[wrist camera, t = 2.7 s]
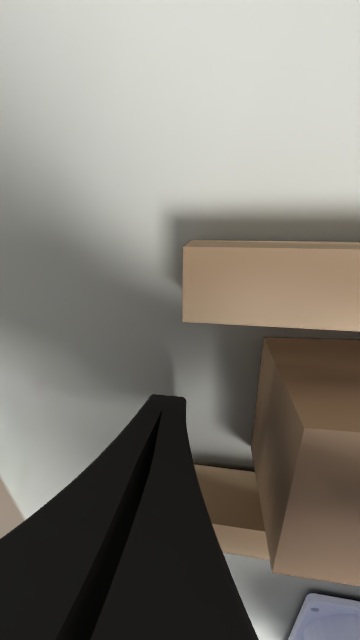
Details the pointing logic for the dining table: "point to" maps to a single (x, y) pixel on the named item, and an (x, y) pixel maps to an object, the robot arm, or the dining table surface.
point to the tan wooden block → (310, 456)
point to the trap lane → (271, 311)
